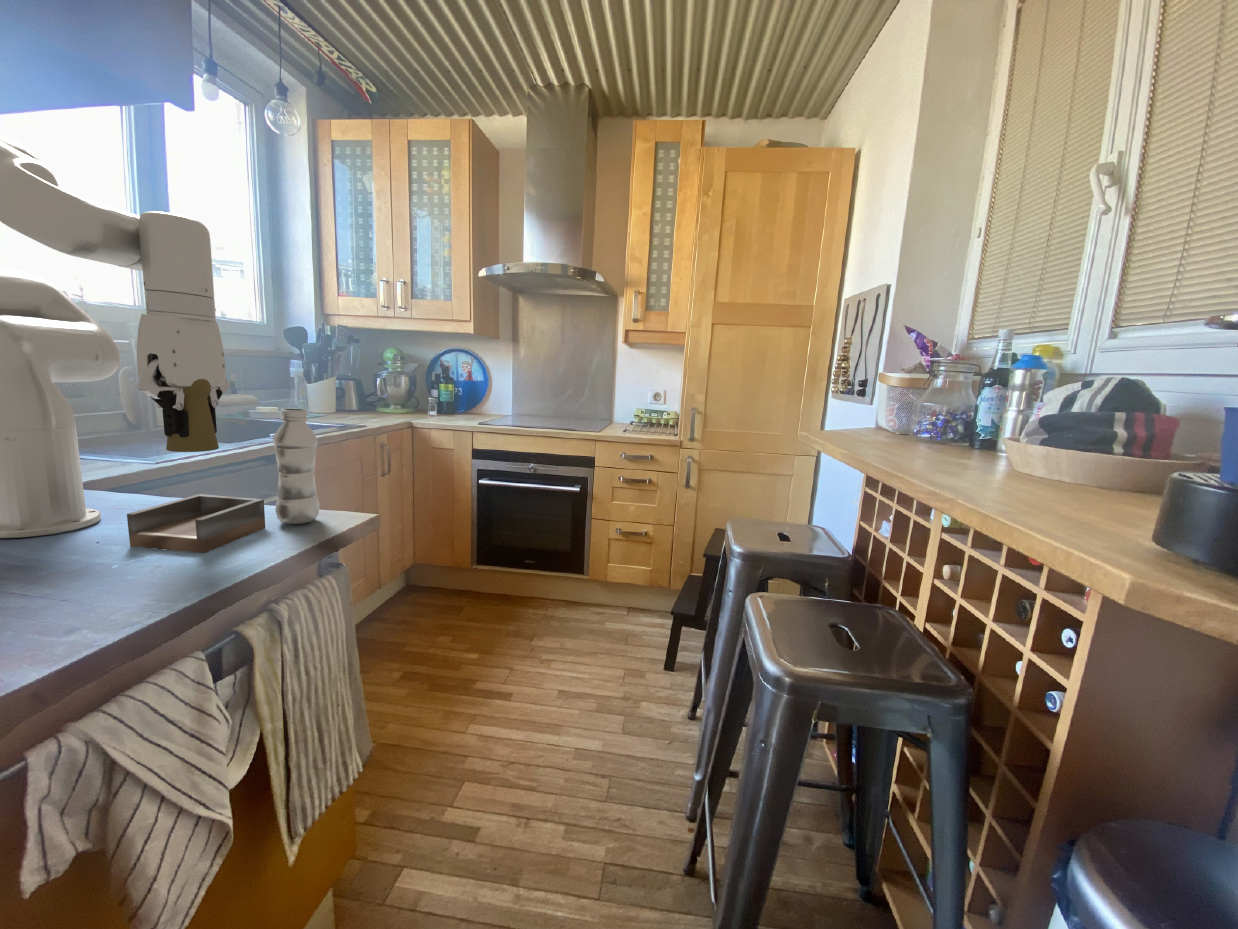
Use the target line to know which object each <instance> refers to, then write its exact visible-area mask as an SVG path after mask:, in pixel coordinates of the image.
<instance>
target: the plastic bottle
mask: <svg viewBox="0 0 1238 929" xmlns="http://www.w3.org/2000/svg"><path fill="white" fill-rule="evenodd" d="M280 412H281V413H280V414H281V416H280V420H281V421H282V424H281V425H280V426H279V428H278V429H277V431H276V432H275V434H274V436H273V439H272V444H273V449H274V454H275V458H276V459H275V460H276V466H277V471H278V474H277V475H278V484H277V490H278V491H277V498H276V502H275V514H276V518H277V519H278V521H279V522H280V523H282V524H286V525H299V524H300V525H301V524H306V523H311V522H313V521H315V520H316V519H317V518H318V516H319V513H320V501H319V497H318V494H317V486H316V478H315V477H316V476H315V473H316V471H315V469H316V456H317V449H318V438H317V435H316V433H315V432H314V431H313V430H312V428H311V427H310V426H309V425H308V424H307V421H308V420H309V418H308V413H307V412H308V411H307V409H304V408H290V407H289V408H281V410H280Z"/></svg>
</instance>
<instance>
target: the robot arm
mask: <svg viewBox="0 0 1238 929" xmlns="http://www.w3.org/2000/svg"><path fill="white" fill-rule="evenodd" d="M0 222H1V224H4V225H6V226H7V227H9V228H11V229H12V230H13V231H15V232H18V233H20V234H21V235H24V236H26V237H27V238H29V239H32V240H33V241H35V242H37V243H40V244H42V245H44V246H46V247H48V248H50V249H53V250H55V251H57V252H60V253H62V254H66V255H68V256H72V257H75V258H80V259H84V260H89V261H90V260H91V261H95V262H98V263H99V262H100V263H104V264H110V265H113V266H117V267H120V268H126V269H131V270H133V271H141V273H142V282H143V291H144V302H145V312H146V313H141V314H140V318H139V324H138V328H137V340H136V363H137V377H138V380H139V382H138V384H137V385H136V386H137V388H136V389H138V391H140V392H142V393H144V394H145V395H147V396H148V397H150V398H151V399H152V400H153V401H154V402H155V403H156V406H157V408H158V409H161V410H162V419H163V431H164V432H163V433H164V436H166V437H167V436H170V437H172V434H179V436H180V437H183V438H185V437H188V436H189V425H188V423H189V420H188V412H187V410H182V409H183V405H184V394H185V393H184V389H183V388H187V387H190V386H191V385H192V384H193V382H195V381H196V380H198V379H205V380H207V381H208V382H209V383H210V385H211V393H210V395H209V396H208V397H207V400H208V404H209V408H210V412H211V417H212V421H213V425H214V429H215V433H216V434H217V431H218V429H217V416H216V414H217V413H216V408H218V407H219V401H220V398H222V396H223V394H224V393H226V392H227V390H228V389H229V388H230V383H229V381H228V379H227V378H226V377H227V372H226V358H225V352H224V346H223V340H222V335H221V332H220V328H219V325H218V324H219V323H218V322H217V318H216V311H217V310H216V309H217V308H216V304H215V303H216V302H215V290H214V275H213V274H214V272H213V260H212V247H211V246H212V244H211V236H210V234H211V233H210V231H209V230H208V227H206V225H205V224H203V223H202V222H201V221H198V220H196V219H194V218H191V217H188V216H184V215H181V214H177V213H176V214H175V213H170V212H164V211H155V210H153V211H145V212H142V213H141V214H140V215H137V214H134V213H131V212H127V211H125V210H121V209H118V208H116V207H113V206H110V205H106V204H104V203H101V202H98V201H94V200H92V199H89V198H84V197H82V196H79V195H76V194H73V193H71V192H68V191H66V190H64V189H63V188H60V187H59V183H58V181H57V179H56V177H55V176H54V174H53V173H52V172H51V171H50V169H49V168H48V167H46V166H45V164H43V163H41V161H40V160H39V159H38V157H37V156H36V154H34V153H33V151H31V150H29V148H27V147H26V146H24V145H23V144H22V143H19V142H18V141H15V140H14V139H11V138H9V137H7V136H4V135H2V134H0ZM120 363H121V356H120V352H119V349H118V347H117V345H116V343H115V341H114V340H113V338H112V337H111V335H110V334H109V333H108V332H107V331H106V329H104V328H103V327H102V326H101V325H100V324H99V323H98V322H96V321H95V320H94V319H93V318H92V317H91V316H90V315H89V314H88V313H87V312H86V311H84V310H83V309H82V308H81V306H79V305H78V304H77V303H76V302H74V300H72V299H71V298H70V297H69V296H68V295H67V294H66V293H64V291H63V290H61V288H59V287H57V285H54V284H53V283H52V282H50V281H48V280H46V279H44V278H42V277H41V276H38V275H35V274H34V273H33V274H32V273H29V272H25V271H22V270H17V269H11V268H5V267H0V539H13V538H14V539H15V538H17V539H18V538H29V537H39V536H40V537H41V536H47V535H55V534H60V533H66V532H71V531H74V530H75V531H76V530H78V529H82V528H86V527H89V526H91V525H94V524H96V523H98V522H99V521H100V520H101V518H102V516H101V511H99V510H97V509H94V508H88V507H87V506H86V500H85V491H84V483H83V476H82V468H81V460H80V459H81V458H80V450H79V442H78V441H79V440H78V436H77V435H78V434H77V428H76V427H77V426H76V421H75V413H74V411H73V408H72V407H71V404H70V403H69V401H68V400H67V398H65V396H64V395H63V394H62V392H61V391H60V390H59V389H58V387H56V386H55V384H54V383H83V382H85V383H86V382H87V383H88V382H96V381H102V380H105V379H107V378H109V377H111V376H112V375H114V374H115V373H116V371H117V370H118V368H119V366H120ZM166 383H167V385H169V386H170V387H168V386H166ZM168 391H172V392H173V397H172V396H171V395H170V394H169V392H168ZM86 507H87V508H86Z"/></svg>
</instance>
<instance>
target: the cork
mask: <svg viewBox="0 0 1238 929" xmlns="http://www.w3.org/2000/svg"><path fill="white" fill-rule="evenodd" d="M166 386H168V387H170V386H169V385H167V383H166ZM183 389H184V393H185V394H184V405H183V409H182V410H187V412H188V420H189V423H188V425H189V436H188V437H185V438H183V437H180V436H179V434H172V437H170V436H166V447H165V450H166V451H169V452H173V453H174V452H176V453H198V452H199V453H200V452H211V451H216V450H219V448H220V447H219V442H218V439H217V438H218V437H217V432H216V433H215V429H214V425H213V421H212V417H211V412H210V408H209V404H208V400H207V397H208V396H209V395H210V393H211V385H210V383H209V382H208V381H207V380H205V379H198V380H196V381H195V382H193V384H192V385H191V386H190V387H187V388H183ZM168 392H169V394H170V395H171V396H172V397H173V392H172V391H168Z"/></svg>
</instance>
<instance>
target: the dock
mask: <svg viewBox="0 0 1238 929" xmlns="http://www.w3.org/2000/svg"><path fill="white" fill-rule="evenodd" d="M265 514H266V513H265V499H262V498H250V497H242V496H241V497H238V496H229V495H228V496H226V495H215V494H203V493H198V494H193V495H191V496H188V497H183V498H179V499H176V500H171V501H169V502H165V503H162V504H159V505H154V506H150V507H147V508H144V509H140V510H139V509H138V510H136V511H132V512H128V513H127V514H126V520H127V528H128V538H129V547H130V548H137V547H140V548H139V549H149V548H157V549H156V550H161V549H166V550H165V551H173V552H185V551H188V552H187V553H197V554H198V553H199V554H206V553H209V552H210V551H213V550H216V549H218V548H221V547H223V546H226V545H228V544H230V543H233V542H235V541H237V540H239V539H243V538H245V537H247V536H250V535H252V534H254V533H257V532H259V531H261V530H264V529H266V518H265V517H266V516H265ZM225 544H226V545H225Z"/></svg>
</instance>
